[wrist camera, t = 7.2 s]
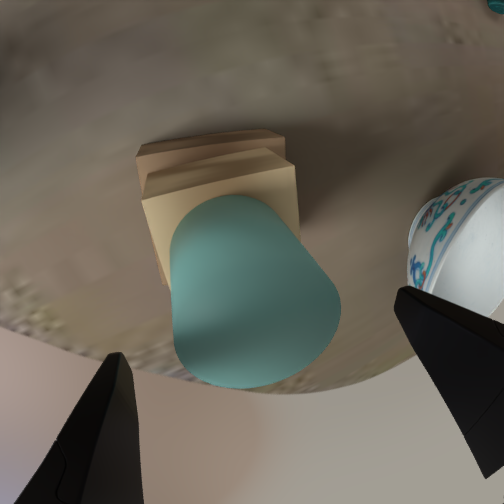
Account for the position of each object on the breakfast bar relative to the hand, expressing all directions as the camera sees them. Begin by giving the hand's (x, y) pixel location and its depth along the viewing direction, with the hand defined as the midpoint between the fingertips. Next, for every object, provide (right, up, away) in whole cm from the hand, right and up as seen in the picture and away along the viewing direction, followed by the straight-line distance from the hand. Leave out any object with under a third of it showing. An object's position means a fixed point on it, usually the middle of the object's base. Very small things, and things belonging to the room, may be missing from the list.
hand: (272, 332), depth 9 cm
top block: (-2, +4, +7) cm, 9 cm away
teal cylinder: (-2, +2, +4) cm, 5 cm away
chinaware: (+16, +5, +17) cm, 24 cm away
